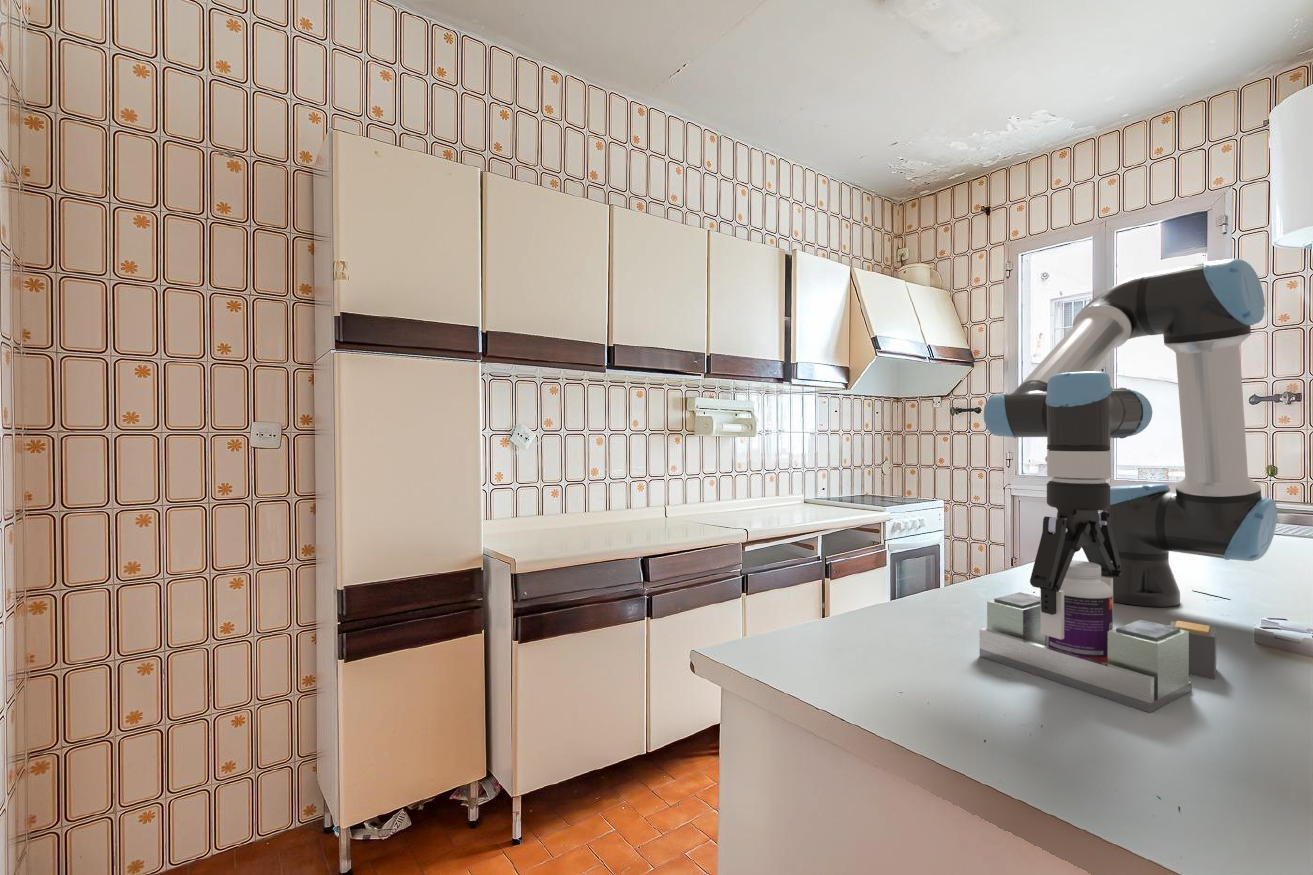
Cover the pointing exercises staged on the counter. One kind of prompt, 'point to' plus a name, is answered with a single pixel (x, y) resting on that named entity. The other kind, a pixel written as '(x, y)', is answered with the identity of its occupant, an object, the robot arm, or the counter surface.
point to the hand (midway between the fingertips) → (1077, 628)
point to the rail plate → (1138, 659)
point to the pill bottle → (1085, 613)
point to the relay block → (1200, 648)
